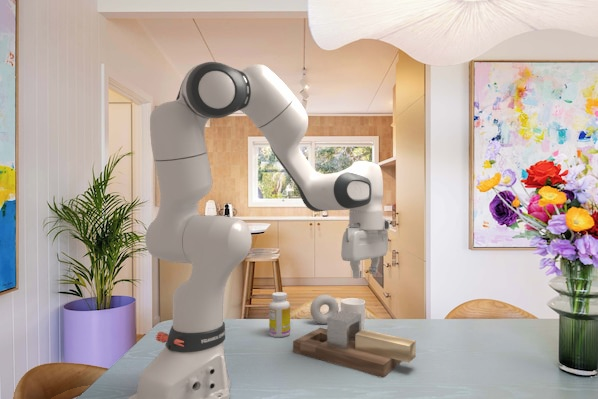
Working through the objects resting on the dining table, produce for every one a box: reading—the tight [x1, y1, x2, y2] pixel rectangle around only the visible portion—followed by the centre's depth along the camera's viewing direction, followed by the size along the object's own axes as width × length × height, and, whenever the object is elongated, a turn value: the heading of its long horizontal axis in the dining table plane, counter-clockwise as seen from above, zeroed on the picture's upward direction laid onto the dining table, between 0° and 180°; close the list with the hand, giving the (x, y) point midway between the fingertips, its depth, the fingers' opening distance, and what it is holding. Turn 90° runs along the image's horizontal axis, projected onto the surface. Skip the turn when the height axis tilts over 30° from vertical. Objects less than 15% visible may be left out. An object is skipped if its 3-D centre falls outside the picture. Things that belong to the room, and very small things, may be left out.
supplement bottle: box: [268, 291, 291, 338], centre depth 122 cm, size 7×7×13 cm
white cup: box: [340, 297, 366, 330], centre depth 123 cm, size 8×8×10 cm
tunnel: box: [326, 310, 361, 350], centre depth 106 cm, size 8×6×8 cm
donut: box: [309, 294, 339, 325], centre depth 132 cm, size 10×4×10 cm, turn 102°
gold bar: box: [355, 329, 417, 364], centre depth 99 cm, size 4×14×4 cm, turn 54°
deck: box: [292, 327, 402, 378], centre depth 105 cm, size 14×27×3 cm, turn 54°
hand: (365, 275), depth 101 cm, fingers open, 8 cm apart
